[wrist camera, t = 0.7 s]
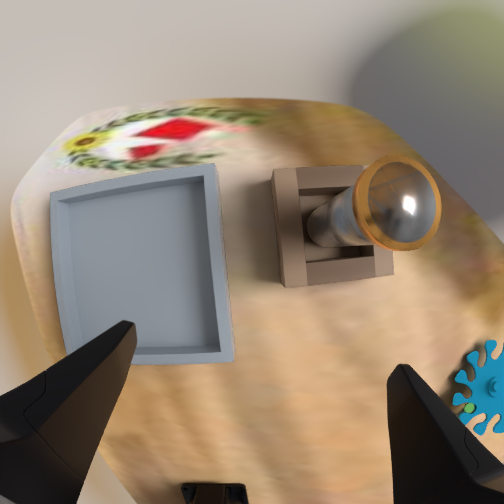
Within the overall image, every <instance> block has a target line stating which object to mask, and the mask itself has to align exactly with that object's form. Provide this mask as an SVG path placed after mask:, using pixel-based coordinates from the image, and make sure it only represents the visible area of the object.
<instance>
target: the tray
mask: <svg viewBox="0 0 504 504" xmlns="http://www.w3.org/2000/svg"><path fill="white" fill-rule="evenodd" d="M50 226H51V248H52V261H53V272H54V282H55V290H56V298H57V305H58V311H59V317H60V323H61V329H62V334H63V339H64V344H65V348H66V353H67V356H68V355H69V354H71V353H72V352H74V351H75V350H77V349H78V348H80V347H81V346H83V345H84V344H86V343H88V342H89V341H91V340H92V339H94V338H95V337H97V336H98V335H100V334H101V333H103V332H105V331H106V330H108V329H109V328H111V327H112V326H114V325H115V324H117V323H118V322H120V321H122V320H127V321H131V322H134V323H135V325H136V333H137V346H136V349H135V352H134V355H133V359H132V362H131V364H134V365H169V364H202V363H221V362H234V356H235V343H234V334H233V325H232V316H231V307H230V298H229V288H228V278H227V268H226V258H225V247H224V237H223V226H222V214H221V202H220V190H219V178H218V171H217V168H216V166H215V163H211V164H202V165H195V166H187V167H180V168H173V169H166V170H160V171H154V172H147V173H142V174H136V175H130V176H125V177H119V178H114V179H109V180H104V181H99V182H95V183H90V184H85V185H81V186H76V187H72V188H68V189H64V190H59V191H55V192H51V193H50Z"/></svg>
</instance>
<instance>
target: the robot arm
mask: <svg viewBox="0 0 504 504" xmlns="http://www.w3.org/2000/svg"><path fill="white" fill-rule="evenodd" d="M136 346H137V333H136V325H135V323H134V322H131V321H127V320H122V321H120V322H118V323H117V324H115V325H114V326H112V327H111V328H109V329H108V330H106V331H105V332H103V333H101V334H100V335H98V336H97V337H95V338H94V339H92V340H91V341H89V342H88V343H86V344H84V345H83V346H81V347H80V348H78V349H77V350H75V351H74V352H72V353H71V354H69V355H68V356H66V357H65V358H63V359H61V360H60V361H58V362H57V363H55V364H54V365H52V366H51V367H49V368H48V369H47V370H46V371H43V372H42V373H40V374H38V375H37V376H35V377H34V378H32V379H31V380H29V381H27V382H26V383H24V384H22V385H20V386H18V387H17V388H15V389H13V390H11V391H9V392H7V393H5V394H3V395H1V396H0V504H76V503H77V500H78V498H79V495H80V492H81V489H82V486H83V484H84V481H85V478H86V475H87V473H88V470H89V468H90V465H91V462H92V460H93V457H94V455H95V452H96V450H97V447H98V445H99V442H100V440H101V437H102V435H103V433H104V430H105V428H106V425H107V423H108V421H109V418H110V416H111V414H112V411H113V409H114V407H115V404H116V402H117V400H118V397H119V395H120V393H121V391H122V388H123V386H124V384H125V381H126V378H127V374H128V371H129V368H130V365H131V362H132V359H133V355H134V352H135V349H136ZM387 416H388V429H389V438H390V449H391V461H392V476H393V498H394V504H504V465H503V464H502V463H501V462H500V461H499V460H498V459H497V458H496V457H495V456H494V455H493V454H492V453H491V452H490V451H489V450H488V449H487V448H486V447H485V446H484V445H483V444H482V443H481V442H480V441H479V440H478V439H477V438H476V437H475V436H474V435H473V434H472V433H471V432H470V431H469V429H468V428H467V427H465V425H464V424H463V423H462V422H461V420H460V419H459V418H458V417H457V416H456V415H455V414H454V413H453V412H452V410H451V409H450V408H449V407H448V406H447V405H446V404H445V403H444V402H443V401H442V399H441V398H440V397H439V396H438V395H437V394H436V393H435V392H434V391H433V390H432V389H431V387H430V386H429V385H428V384H427V383H426V382H425V381H424V380H423V379H422V378H421V377H420V376H419V375H418V374H417V372H416V371H415V370H414V369H413V368H412V367H411V366H410V365H408V364H398V365H397V366H396V368H395V369H394V370H393V372H392V373H391V375H390V376H389V378H388V380H387ZM185 487H186V488H185ZM181 490H182V493H183V496H184V498H185V501H186V504H249V502H248V496H247V491H246V486H245V485H244V484H182V486H181Z"/></svg>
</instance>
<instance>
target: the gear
mask: <svg viewBox="0 0 504 504" xmlns="http://www.w3.org/2000/svg"><path fill="white" fill-rule="evenodd" d="M496 345H497V342H496V341H495V340H488V341H486V343H485V345H484V347H485V350H486V361H485V364H484V366H483V367H482V368H480V367H478V365H477V361H478V358H479V354H478V352H477V351H474V352H472V353H470V354H469V355H468V356H467V358H466V359H467V362H468V363H470V364H471V365H472V367H473V369H474V372H475V379H474V380H473V381H472V382H470V381H468V380H467V374H466V372H465V371H464V370H461V371H460V372H459V373H458V374H457V376H456V377H455V379H454V380H455V382H457V383H462V384H465V385H466V386H468V387H469V389H470V390H471V392H472V394H471V396H470V397H469V398H468V399H466V398H465V397H464V396H463V395H462V394H461V393H455V394H454V396H453V403H452V404H453V405H455V406H457V405H460V404H462V403H466V402H468V403H467V404H465V406H464V408H463V409H462V410H460V411H459V412H458V413H457V415H456V416H457V417H458V418H459V419H460V420H461V422H462V423H463V424H464V425H466V424H467V423H468V422H469V421H470V420H471V419H472V418H473V417H474V416H476V415H478V414H481V413H485V414H486V419H485V420H484V421H483V422H481V423H478V424H476V425H475V426H474V428H473V430H474V431H475V432H476V433H477V434H479V435H483V434H484V432H485V430H486V427H487V424H488V422H489V421H490V420H491V419H492V418H493V417H494V416H495V415H496V414H499V415H500V420H499V421H498V422H497V423H496V424H495V425H494V427H493V432H495V433H503V432H504V344H503V350H502V353H501V354H500V356H499V357H498V358H497V359H496V360H493V359H492V358H491V353H492V351H493V350H494V349H495V348H496Z"/></svg>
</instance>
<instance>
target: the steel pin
mask: <svg viewBox="0 0 504 504" xmlns="http://www.w3.org/2000/svg"><path fill="white" fill-rule="evenodd" d="M440 218H441V199H440V194H439V191H438V188H437V185H436V183H435V181H434V179H433V178H432V176H431V175H430V173H429V172H428V171H427V170H426V168H424V167H423V166H422V165H421V164H420V163H418V162H417V161H415V160H414V159H412V158H409V157H407V156H403V155H388V156H385V157H382V158H380V159H379V160H377V161H375V162H374V163H373V164H371V165H370V166H368V167H367V168H366V169H365V170H364V171H363V172H362V173H361V174H360V175H359V177H358V178H357V180H356V183H355V184H354V185H352V186H351V187H349V188H348V189H346V190H345V191H343V192H342V193H340V194H339V195H337V196H335V197H334V198H332V199H331V200H329V201H328V202H326V203H325V204H323V205H321V206H320V207H318V208H317V209H315V210H314V211H313V212H312V213H311V214H310V216H309V218H308V222H307V230H308V234H309V236H310V238H311V239H312V240H313V241H314V242H315V243H316V244H318V245H320V246H323V247H339V246H358V245H376V246H378V247H380V248H382V249H385V250H390V251H410V250H415V249H418V248H420V247H422V246H423V245H425V244H426V243H427V242H428V241H429V240H430V239H431V238H432V237H433V235H434V234H435V232H436V230H437V228H438V225H439V222H440Z"/></svg>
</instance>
